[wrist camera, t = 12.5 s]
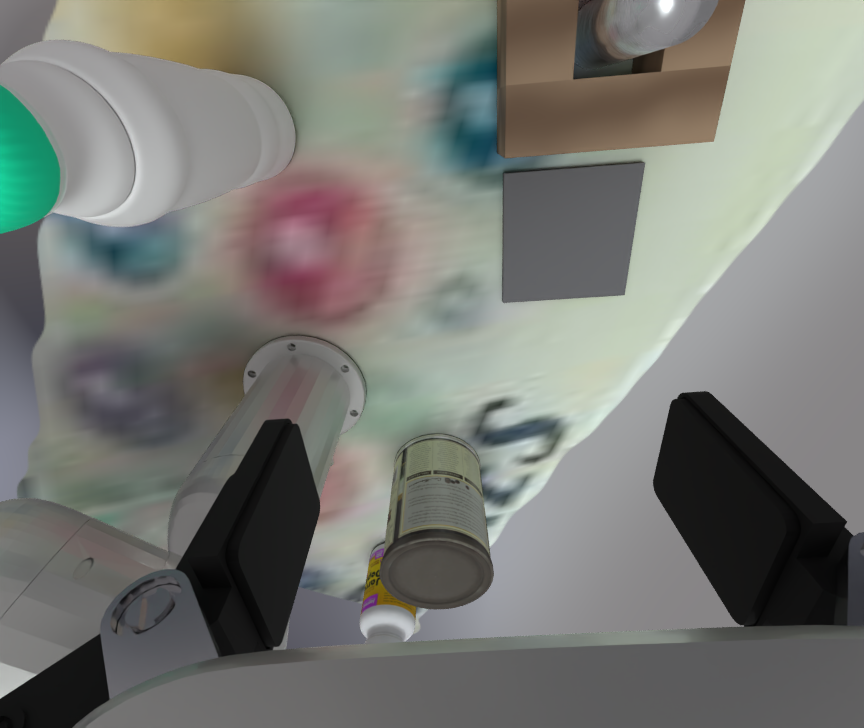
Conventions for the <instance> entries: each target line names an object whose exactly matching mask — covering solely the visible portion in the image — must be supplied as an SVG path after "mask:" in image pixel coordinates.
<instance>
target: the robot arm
mask: <svg viewBox="0 0 864 728" xmlns="http://www.w3.org/2000/svg"><path fill="white" fill-rule="evenodd" d="M292 343H293V344H294V345H293V344H292ZM345 365H347V366H345ZM243 388H244V394H245V396H244V397H243V399H242V400H241V402H240V403H239V405H238V406H237V407H236V409H235V410H234V412H233V413H232V415H231V416H230V417H229V419H228V420H227V422H226V423H225V425H224V426H223V427H222V429H221V430H220V432H219V433H218V434H217V436H216V437H215V439H214V440H213V442H212V443H211V444H210V446H209V447H208V449H207V450H206V452H205V453H204V454H203V456H202V457H201V459H200V460H199V462H198V463H197V464H196V466H195V467H194V469H193V470H192V471H191V473H190V474H189V476H188V477H187V478H186V480H185V481H184V483H183V484H182V486H181V487H180V489H179V491H178V493H177V495H176V497H175V499H174V502H173V505H172V508H171V512H170V517H169V522H168V552H167V551H165V550H163V549H161V548H159V547H156V546H154V545H152V544H150V543H148V542H146V541H143V540H141V539H139V538H137V537H135V536H132V535H130V534H128V533H126V532H124V531H121V530H119V529H117V528H115V527H113V526H110V525H108V524H106V523H104V522H102V521H99V520H97V519H95V518H92V517H90V516H87V515H85V514H83V513H81V512H78V511H76V510H74V509H71V508H68V507H66V506H63V505H60V504H58V503H54V502H51V501H46V500H41V499H33V498H20V499H11V500H6V501H2V502H0V728H864V532H862V533H858V534H857V535H855V536H853V535H852V534H851V533H850V532H849V531H848V530H847V529H846V528H845V527H844V526H845V524H846V523H847V521H846V520H845V519H844V518H842V516H840V515H839V514H838V513H837V512H836V511H835V510H834V509H833V508H832V507H831V506H830V505H829V504H828V503H827V502H826V501H824V500H823V499H822V498H821V497H820V496H819V495H818V494H817V493H816V492H815V491H814V490H813V489H812V488H810V486H808V485H807V484H806V483H805V482H804V481H803V480H802V479H801V478H800V477H799V476H798V475H797V474H796V473H795V472H794V471H792V469H790V468H789V467H788V466H787V465H786V464H785V463H784V462H783V461H782V460H781V459H780V458H779V457H778V456H777V455H776V454H774V453H773V452H772V451H771V450H770V449H769V448H768V447H767V446H766V445H765V444H764V443H763V442H762V441H760V439H758V437H756V436H755V435H754V434H753V433H752V432H751V431H750V430H749V429H748V428H747V427H746V426H744V424H743V423H742V422H740V421H739V420H738V419H737V418H736V417H735V416H734V415H733V414H732V413H731V412H730V411H729V410H728V409H727V408H726V407H725V406H724V405H722V404H721V403H720V402H719V401H718V400H717V399H716V398H715V397H714V396H713V395H712V394H710V393H709V392H705V391H704V392H689V393H681V394H680V395H679V396H678V398H677V399H674V400H673V401H672V402H671V405H670V409H669V413H668V418H667V423H666V427H665V431H664V435H663V440H662V444H661V449H660V453H659V457H658V462H657V466H656V471H655V475H654V479H653V486H654V491H655V493H656V495H657V497H658V499H659V500H660V502H661V503H662V505H663V507H664V508H665V510H666V512H667V513H668V515H669V516H670V518H671V520H672V521H673V523H674V525H675V526H676V528H677V529H678V531H679V533H680V534H681V536H682V537H683V539H684V541H685V542H686V544H687V546H688V547H689V549H690V550H691V552H692V554H693V555H694V557H695V558H696V560H697V561H698V563H699V565H700V567H701V568H702V570H703V571H704V573H705V574H706V576H707V578H708V579H709V581H710V583H711V584H712V586H713V588H714V589H715V591H716V592H717V594H718V596H719V597H720V599H721V600H722V602H723V604H724V605H725V607H726V609H727V610H728V612H729V613H730V615H731V617H732V618H733V619H734V620H735V622H736V623H738V624H740V625H744V627H722V628H698V629H675V630H649V631H625V632H602V633H581V634H558V635H536V636H515V637H494V638H473V639H454V640H435V641H416V642H396V643H377V644H360V645H340V646H326V647H312V648H298V649H286V645H287V637H288V628H289V618H290V614H291V610H292V606H293V603H294V600H295V596H296V593H297V589H298V586H299V583H300V579H301V576H302V572H303V569H304V565H305V562H306V558H307V555H308V551H309V548H310V545H311V541H312V538H313V534H314V531H315V527H316V524H317V520H318V517H319V513H320V497H321V494H322V490H323V487H324V484H325V481H326V478H327V475H328V471H329V468H330V466H332V465H333V463H334V461H333V456H334V452H335V449H336V446H337V443H338V440H339V437H340V435H341V434H343V433H345V432H347V431H348V430H349V429H350V428H352V427H353V426H354V425H355V424H356V422H357V421H358V420H359V418H360V417H361V414H362V412H363V410H364V406H365V402H366V387H365V381H364V379H363V376H362V374H361V372H360V370H359V369H358V367H357V366H356V364H355V363H354V362H353V361H352V360H351V359H350V357H349V356H348V355H347V354H345V353H344V352H343V351H341V350H340V349H339V348H337V347H335V346H333V345H331V344H330V343H328V342H326V341H322V340H319V339H316V338H312V337H306V336H287V337H282V338H278V339H275V340H273V341H270V342H268V343H267V344H265V345H264V346H262V347H261V348H259V349H258V351H257V352H256V353H255V354H254V355H253V356H252V358H251V359H250V361H249V362H248V363H247V366H246V368H245V370H244V376H243Z"/></svg>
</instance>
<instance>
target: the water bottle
mask: <svg viewBox="0 0 864 728" xmlns="http://www.w3.org/2000/svg"><path fill="white" fill-rule="evenodd" d="M295 141H296V137H295V128H294V123H293V120H292V117H291V114H290V112H289V110H288V108H287V106H286V105H285V103H284V102H283V100H282V99H281V98H280V96H279V95H278V94H277V93H276V92H275V91H274V90H273V89H271V88H270V87H269V86H268V85H266V84H265V83H263V82H261V81H259V80H257V79H255V78H252V77H249V76H245V75H239V74H229V73H226V72H222V71H218V70H212V69H198V68H195V67H192V66H189V65H185V64H181V63H177V62H173V61H169V60H164V59H159V58H154V57H149V56H142V55H136V54H128V53H119V52H109V51H107V50H105V49H102V48H100V47H97V46H94V45H91V44H87V43H83V42H78V41H71V40H48V41H42V42H38V43H34V44H31V45H29V46H26V47H24V48H22V49H20V50H19V51H17V52H16V53H14V54H13V55H12V56H10V57H9V58H8V59H7V60H6V61H5V62H4V63H2V64H1V65H0V234H1V233H5V232H9V231H13V230H16V229H19V228H22V227H25V226H28V225H30V224H32V223H34V222H36V221H38V220H40V219H42V218H43V217H45V216H47V215H50V214H51V213H53V212H54V213H57V214H61V215H66V216H72V217H75V218H78V219H81V220H84V221H87V222H90V223H94V224H99V225H104V226H112V227H131V226H138V225H142V224H146V223H149V222H151V221H154V220H156V219H158V218H160V217H162V216H163V215H165V214H166V213H167V212H172V211H176V210H180V209H184V208H187V207H191V206H194V205H197V204H200V203H203V202H206V201H208V200H211V199H213V198H216V197H218V196H221V195H223V194H225V193H227V192H229V191H231V190H233V189H239V188H243V187H247V186H249V185H252V184H254V183H256V182H260V181H264V180H267V179H270V178H272V177H274V176H276V175H278V174H279V173H280V172H282V171H283V170H284V169H285V168H286V167H287V165H288V164H289V162H290V160H291V158H292V156H293V153H294V149H295Z"/></svg>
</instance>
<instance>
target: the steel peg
mask: <svg viewBox="0 0 864 728" xmlns="http://www.w3.org/2000/svg"><path fill="white" fill-rule="evenodd" d="M718 1H719V0H591V1H590V2H589V3H587V4H586V5H585V6H584V7H583V8H581V10H580V11H579V12H578V18H577V31H576V45H575V58H574V62H575V63H576V64H577V65H579V66H580V67H582V68H584V69H588V70H595V69H599V68H602V67H606V66H609V65H612V64H615V63H619V62H622V61H625V60H628V59H632V58H635V57H638V56H641V55H645V54H648V53H651V52H654V51H658V50H661V49H664V48H667V47H671V46H674V45H677V44H680V43H682V42H685V41H686V40H688V39H690V38H691V37H693V36H694V35H695V34H696V33H698V32H699V31H700V30H701V29H702V28H703V26H704V25H705V24H706V23H707V21H708V20H709V19H710V17H711V16H712V14H713V12H714V10H715V8H716V6H717V4H718Z"/></svg>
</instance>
